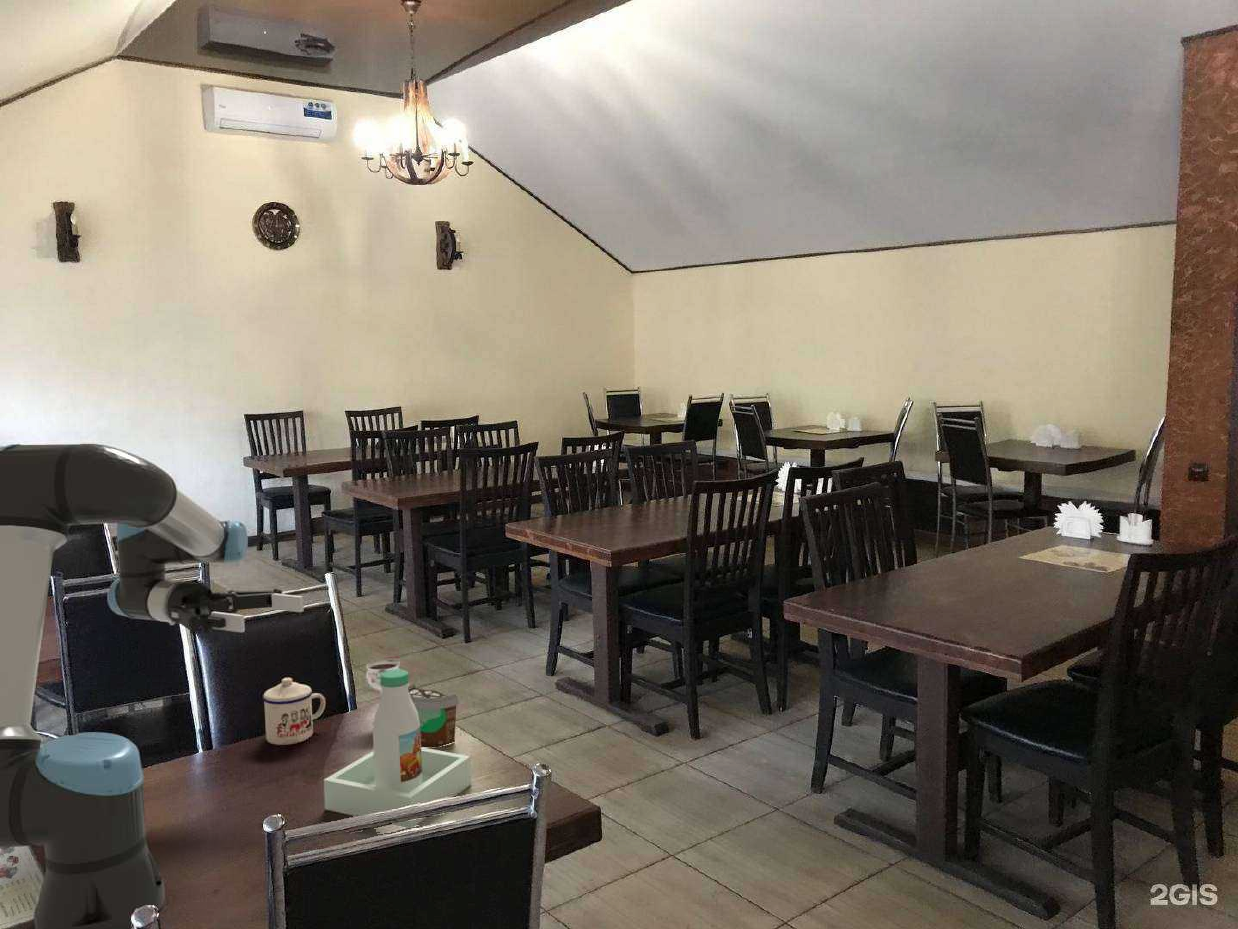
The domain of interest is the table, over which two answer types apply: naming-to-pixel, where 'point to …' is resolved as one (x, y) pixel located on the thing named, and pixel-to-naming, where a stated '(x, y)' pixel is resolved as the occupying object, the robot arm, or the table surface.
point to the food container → (435, 716)
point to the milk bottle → (397, 736)
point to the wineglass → (379, 671)
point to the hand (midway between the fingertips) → (273, 613)
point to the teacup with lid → (290, 712)
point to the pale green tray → (361, 796)
